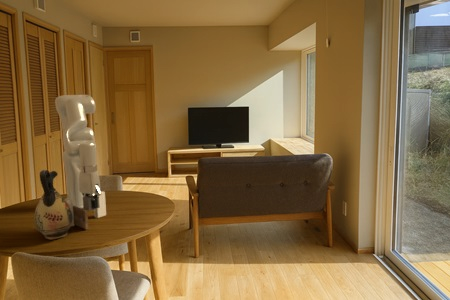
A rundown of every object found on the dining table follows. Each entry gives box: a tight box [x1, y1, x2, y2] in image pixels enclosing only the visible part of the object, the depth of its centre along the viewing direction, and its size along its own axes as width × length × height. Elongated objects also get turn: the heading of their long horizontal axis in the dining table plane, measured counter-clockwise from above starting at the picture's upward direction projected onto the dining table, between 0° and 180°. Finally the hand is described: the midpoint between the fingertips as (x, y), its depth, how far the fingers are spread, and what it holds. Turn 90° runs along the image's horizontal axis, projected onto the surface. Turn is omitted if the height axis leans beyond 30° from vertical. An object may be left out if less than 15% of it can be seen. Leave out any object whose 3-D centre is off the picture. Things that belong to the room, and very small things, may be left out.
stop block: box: [82, 194, 100, 212], centre depth 202 cm, size 4×6×6 cm, turn 146°
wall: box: [66, 191, 107, 227], centre depth 208 cm, size 3×24×12 cm, turn 146°
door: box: [73, 206, 89, 230], centre depth 199 cm, size 3×13×9 cm, turn 45°
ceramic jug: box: [33, 169, 73, 240], centre depth 186 cm, size 17×15×30 cm
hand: (91, 207), depth 202 cm, fingers closed on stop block, 4 cm apart
